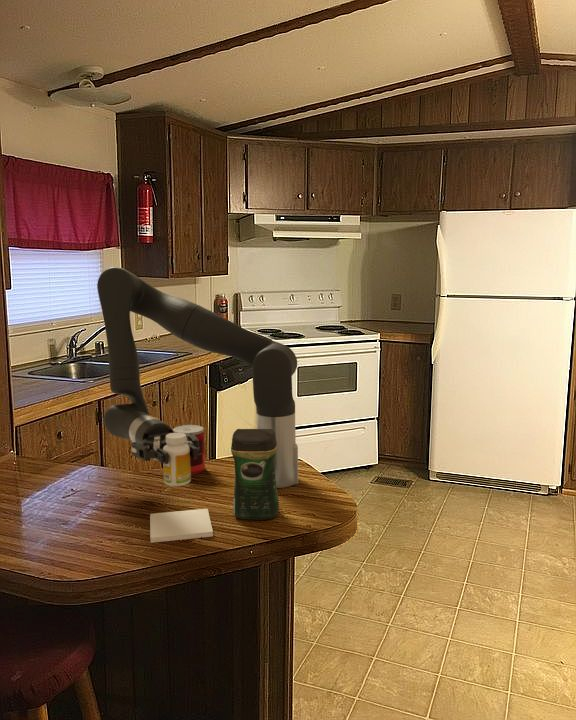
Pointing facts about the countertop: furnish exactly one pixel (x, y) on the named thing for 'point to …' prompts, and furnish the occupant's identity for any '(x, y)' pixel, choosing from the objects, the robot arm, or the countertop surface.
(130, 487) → the countertop surface
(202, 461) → the canned food
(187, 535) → the bay plate
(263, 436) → the coffee jar
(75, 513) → the countertop surface
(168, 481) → the supplement bottle
